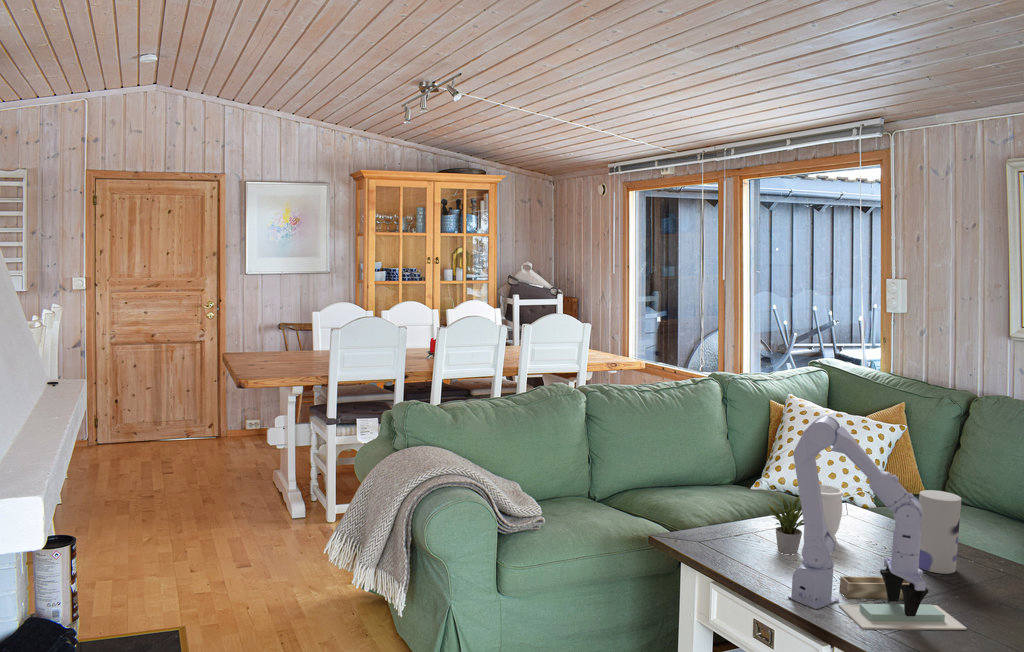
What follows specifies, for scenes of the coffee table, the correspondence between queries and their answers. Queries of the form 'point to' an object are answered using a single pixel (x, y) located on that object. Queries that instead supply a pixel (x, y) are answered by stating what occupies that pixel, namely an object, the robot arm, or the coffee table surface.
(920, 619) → the lid
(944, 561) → the container
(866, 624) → the mat
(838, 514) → the white vase
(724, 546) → the coffee table surface
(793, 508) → the house plant
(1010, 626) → the coffee table surface
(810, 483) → the robot arm
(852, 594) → the pencil box
